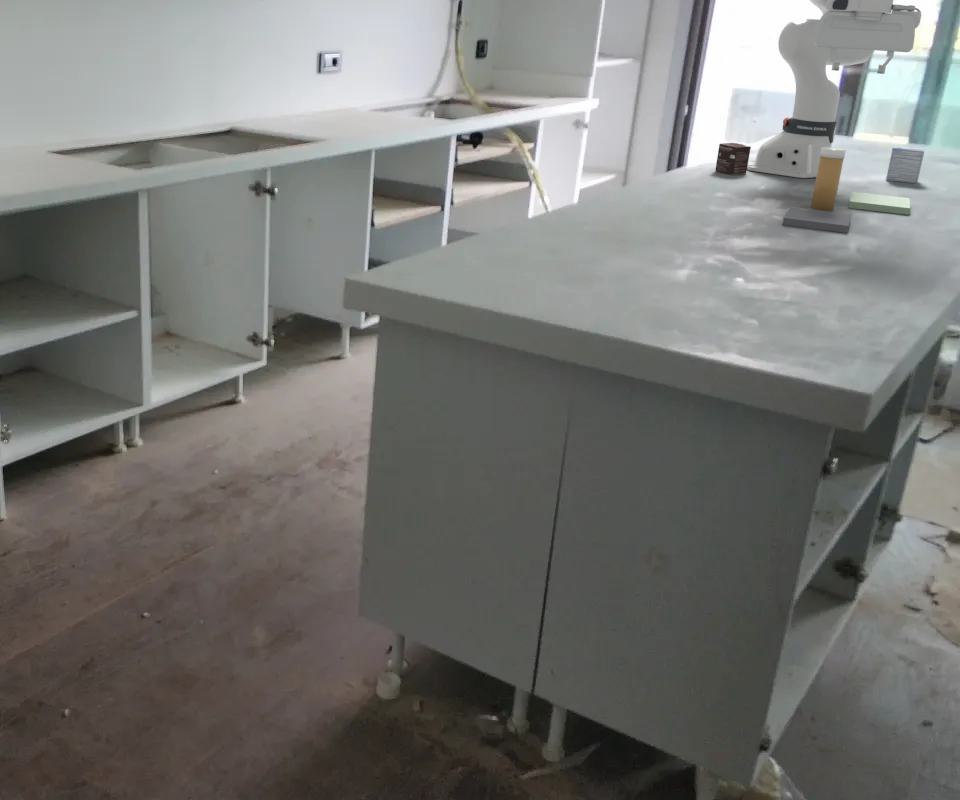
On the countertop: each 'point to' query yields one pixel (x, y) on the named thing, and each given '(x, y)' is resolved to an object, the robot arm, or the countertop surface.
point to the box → (732, 158)
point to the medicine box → (905, 164)
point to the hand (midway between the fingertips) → (857, 72)
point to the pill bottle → (827, 178)
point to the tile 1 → (817, 219)
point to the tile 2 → (880, 203)
